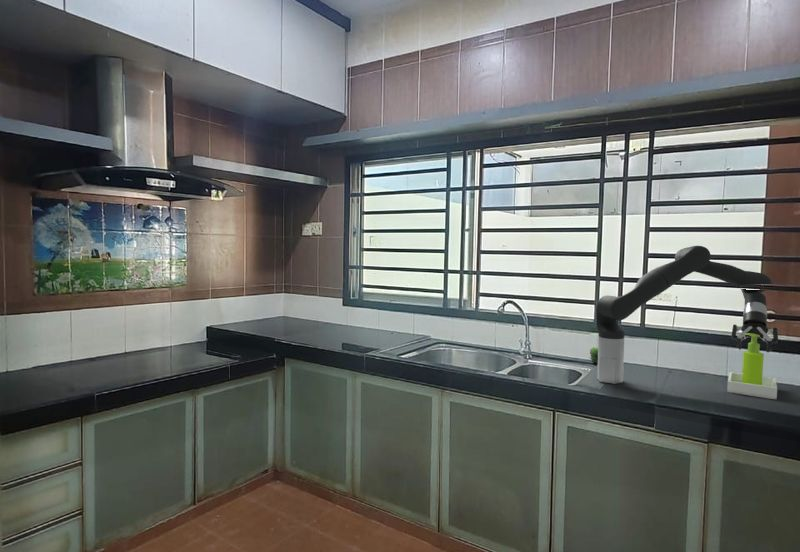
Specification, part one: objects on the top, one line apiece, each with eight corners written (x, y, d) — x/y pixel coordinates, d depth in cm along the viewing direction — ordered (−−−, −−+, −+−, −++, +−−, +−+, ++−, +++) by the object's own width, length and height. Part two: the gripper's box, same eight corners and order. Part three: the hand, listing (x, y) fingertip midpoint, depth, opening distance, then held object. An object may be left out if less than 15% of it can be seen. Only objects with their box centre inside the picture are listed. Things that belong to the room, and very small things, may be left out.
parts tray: (776, 399, 162) (777, 388, 162) (727, 392, 170) (727, 381, 170) (774, 388, 175) (775, 378, 175) (728, 382, 183) (729, 372, 183)
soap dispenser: (750, 385, 176) (753, 332, 175) (765, 390, 170) (768, 335, 168) (735, 385, 176) (738, 332, 175) (749, 390, 169) (752, 335, 168)
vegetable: (597, 346, 209) (592, 339, 228) (589, 360, 210) (584, 351, 229) (613, 355, 207) (606, 346, 226) (604, 369, 208) (598, 359, 227)
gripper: (733, 308, 189) (730, 341, 180) (778, 311, 180) (778, 346, 172) (733, 320, 193) (730, 353, 185) (777, 323, 185) (777, 357, 176)
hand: (753, 349), depth 178 cm, fingers open, 8 cm apart
